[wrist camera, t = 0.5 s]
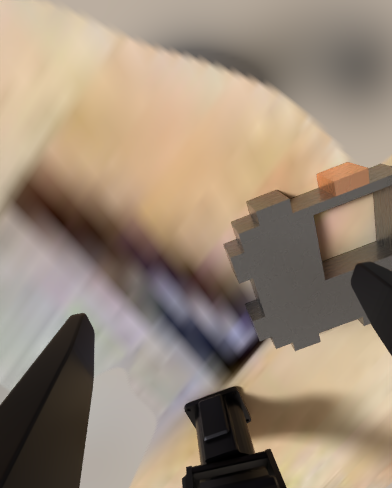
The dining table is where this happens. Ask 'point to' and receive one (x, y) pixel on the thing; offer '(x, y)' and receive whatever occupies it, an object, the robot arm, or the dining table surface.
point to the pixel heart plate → (307, 256)
